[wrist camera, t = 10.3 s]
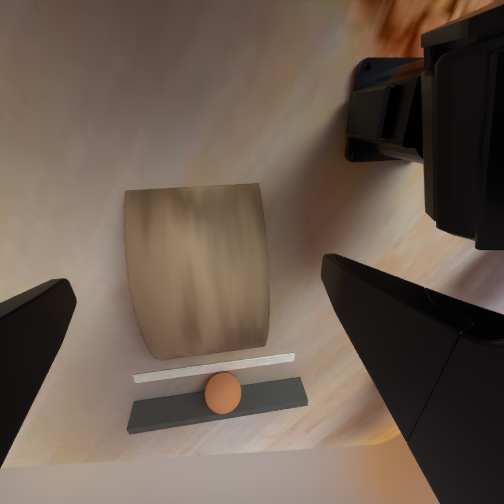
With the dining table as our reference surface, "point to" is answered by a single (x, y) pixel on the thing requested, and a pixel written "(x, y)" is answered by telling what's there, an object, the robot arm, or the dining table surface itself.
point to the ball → (223, 393)
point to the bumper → (197, 411)
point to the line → (213, 368)
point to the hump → (198, 268)
